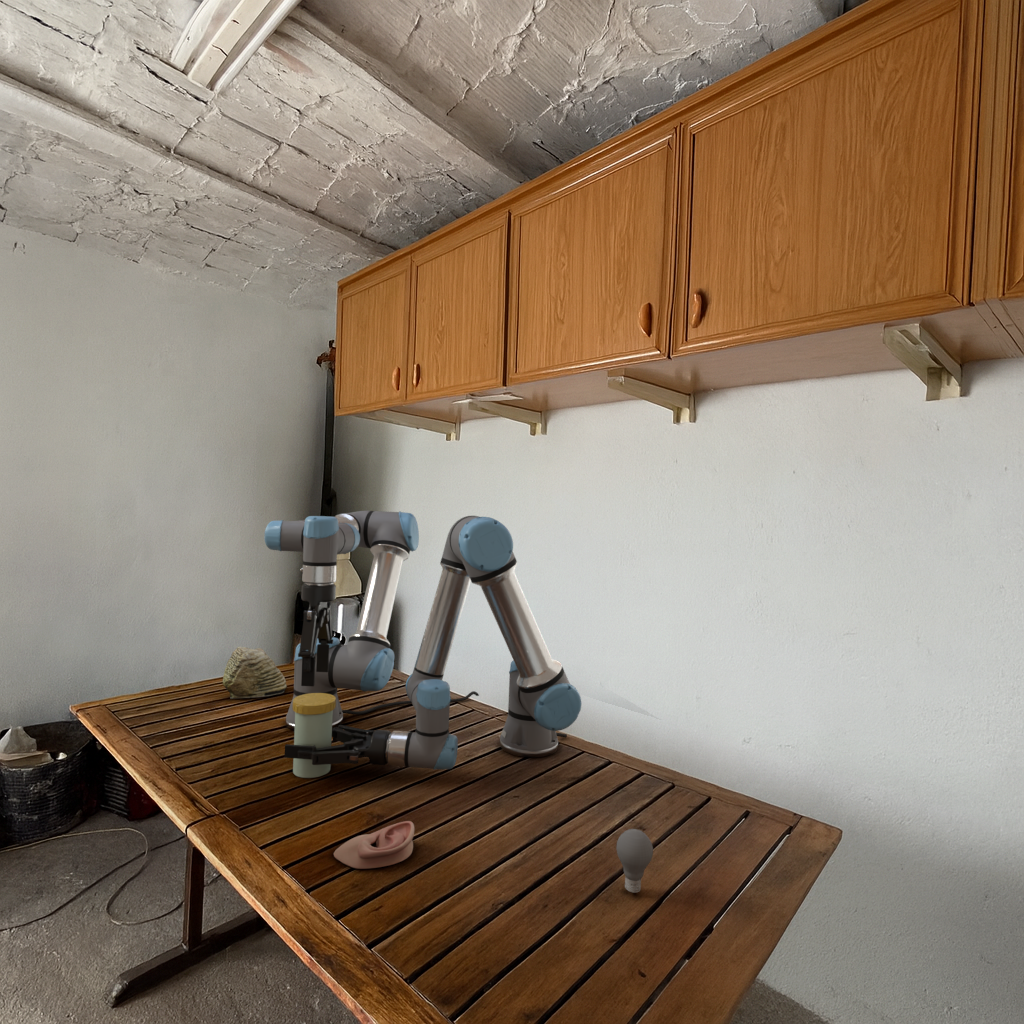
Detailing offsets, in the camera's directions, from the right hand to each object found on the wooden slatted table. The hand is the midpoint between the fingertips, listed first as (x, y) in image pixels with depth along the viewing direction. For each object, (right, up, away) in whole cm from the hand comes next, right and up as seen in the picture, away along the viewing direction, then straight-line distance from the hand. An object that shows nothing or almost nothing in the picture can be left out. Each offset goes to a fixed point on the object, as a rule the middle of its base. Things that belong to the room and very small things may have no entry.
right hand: (295, 741), depth 147 cm
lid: (+5, +10, 0) cm, 11 cm away
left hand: (+5, +15, 0) cm, 15 cm away
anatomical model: (+25, -8, -33) cm, 42 cm away
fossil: (-30, -4, +52) cm, 60 cm away
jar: (+4, -7, 0) cm, 8 cm away
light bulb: (+70, -10, -41) cm, 82 cm away
